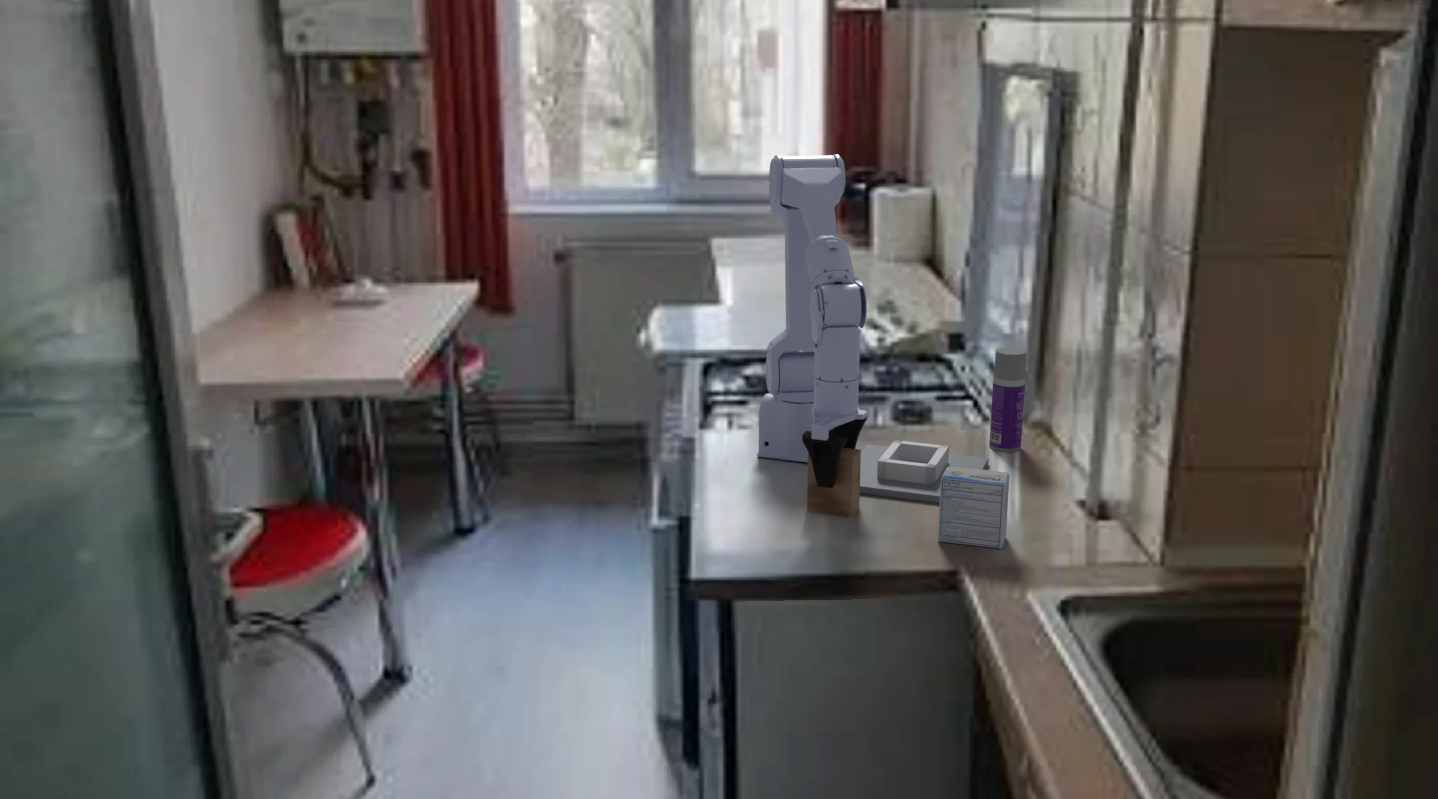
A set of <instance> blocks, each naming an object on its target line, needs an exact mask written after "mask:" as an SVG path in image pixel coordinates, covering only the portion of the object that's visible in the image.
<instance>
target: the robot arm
mask: <svg viewBox="0 0 1438 799" xmlns="http://www.w3.org/2000/svg"><path fill="white" fill-rule="evenodd" d="M768 172H769V174H768V175H769V176H768V181H769V182H768V183H769V184H768V185H769V186H768V187H769V188H768V189H769V190H768V191H769V192H768V193H769V195H768V196H769V206H770V211H771V213H772V214H775V215H777V216H780V217H781V218H782V223H783V228H784V261H785V262H784V264H785V265H784V266H785V267H784V268H785V269H784V271H785V272H784V273H785V274H784V275H785V276H784V277H785V280H784V281H785V282H784V283H785V329H784V330H783V331H782V332H780V333H779V334H778V335H776V336H775V337H774V338H772V339H771V340H770V341H769V343H768V345H767V347H766V359H765V382H766V388H767V391H768V393H765V394H764V395H763V397H762V399H761V401H760V405H759V410H758V413H759V414H758V452H757V454H756V456H757V457H758V458H765V459H766V458H767V459H774V460H783V461H793V462H798V463H799V462H800V463H807V464H808V453H809V455H810V458H811V461H812V465H813V469H814V474H815V478H816V482H817V486H819V487H827V488H833V487H834V485H835V482H836V478H837V472H838V465H839V460H840V456H841V453H842V450H843V448H850V449H857V448H856V447H857V443H858V440H859V437H860V434H861V432H862V429H863V428H864V425H865V424H866V422H867V421H868V412H867V410H864V409H863V410H862V409H860V407H859V386H860V385H859V382H860V380H859V378H860V354H861V352H860V347H861V345H860V344H861V330H860V329H859V328H861V329H863V328H864V327H865V326H866V325H865V324H866V322H867V313H868V303H867V302H868V301H867V294H866V288H865V285H864V284H863V282H861V280H860V277H858V276H855V272H854V268H853V263H852V258H851V255H850V253H851V252H850V250H849V249H850V248H849V245H848V244H847V242H846V241H845V240H844V239H842V238H840V237H838V231H837V230H838V229H837V228H838V227H837V219H836V210H835V207H836V206H837V204H839V203H840V201H841V197H843V194H844V193H845V188H846V187H845V186H846V168H845V162H844V160H843V159H842V157H841V156H840V154H835V153H833V155H832V154H831V155H830V154H829V155H824V154H823V155H779V154H775V155H774V157H773V158H772V159H771V161H770V163H769V171H768ZM791 351H792V352H791ZM795 351H798V352H795ZM799 351H801V352H799ZM803 351H804V352H803Z"/></svg>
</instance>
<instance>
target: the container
mask: <svg viewBox="0 0 1438 799" xmlns="http://www.w3.org/2000/svg"><path fill="white" fill-rule="evenodd" d="M1026 370H1027V350H1025V349H1023V348H1020V347H1019V348H1018V347H1009V346H1008V347H1007V346H1006V347H999V348H996V349H995V355H994V366H993V378H992V393H991V411H990V426H989V427H990V428H989V444H988V445H989V448H990V449H991V450H993V451H996V452H1001V453H1014V452H1015V453H1016V452H1018V451H1020V450H1022V449H1021V448H1022V434H1023V422H1024V408H1025V407H1024V406H1025V391H1026V374H1027V373H1026V372H1027V371H1026Z"/></svg>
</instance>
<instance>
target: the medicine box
mask: <svg viewBox="0 0 1438 799" xmlns="http://www.w3.org/2000/svg"><path fill="white" fill-rule="evenodd" d="M1010 476H1011V475H1010V473H1009V472H1006V471H1000V470H999V471H998V470H989V469H985V470H982V469H971V468H961V467H950V466H948V467H947V468H946V470H945V471H944V473H943V475H942V477H941V482H940V503H939V507H938V508H939V509H938V510H939V511H938V530H937V541H938V542H939V543H940V542H941V543H948V544H950V543H951V544H957V545H959V544H960V545H965V546H966V545H968V546H975V547H985V548H990V549H991V548H992V549H993V548H994V549H999V550H1000V549H1001V550H1002V549H1003V547H1004V543H1005V540H1006V536H1007V530H1008V529H1007V527H1008V508H1009V506H1008V505H1009V494H1010V493H1009V489H1010Z"/></svg>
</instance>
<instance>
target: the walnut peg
mask: <svg viewBox="0 0 1438 799" xmlns="http://www.w3.org/2000/svg"><path fill="white" fill-rule="evenodd" d="M861 451H862V450H861V449H860V448H859V449H857V448H855V449H850V448H843V450H842V453H841V456H840V460H839V465H838V472H837V478H836V482H835V485H834V487H833V488H827V487H819V486H817V482H816V478H815V474H814V469H813V465H812V461H811V458H810V455H809V453H808V463H807V480H806V481H807V483H806V484H807V485H806V486H807V488H806V490H807V491H806V512H808V513H816V514H817V513H818V514H823V515H831V516H838V517H844V518H845V517H846V518H852V517H853V516H854V515H855V513H856V512H857V510H858V509H859V508H860V500H861V499H860V497H861V496H860V494H861V493H860V466H861Z"/></svg>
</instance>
